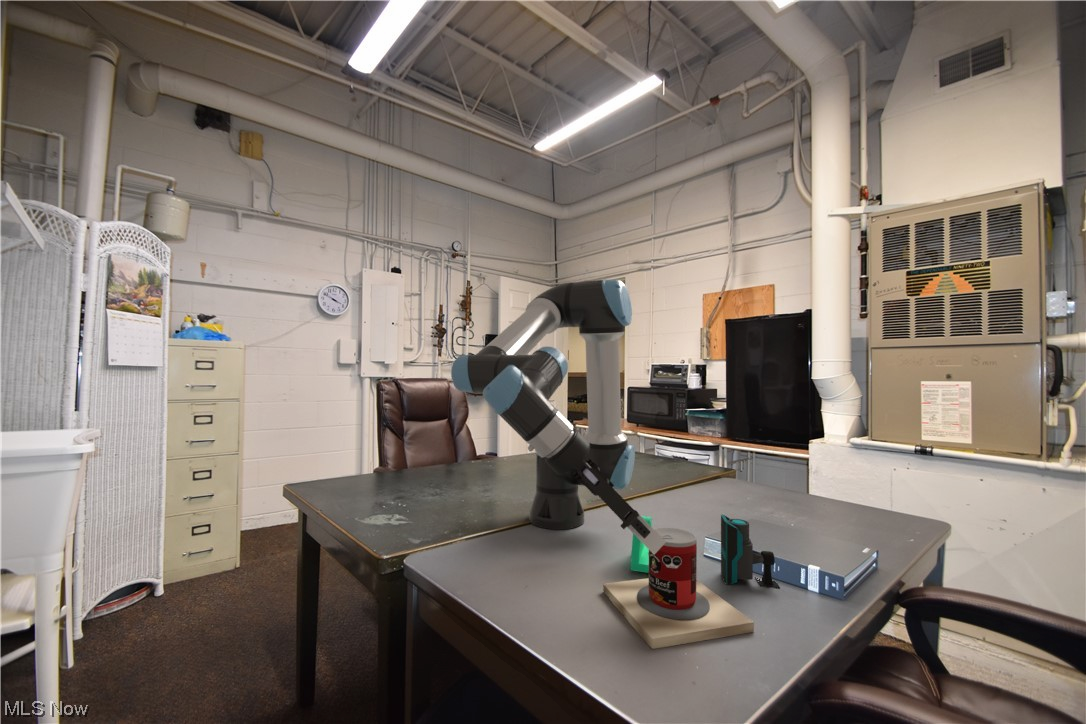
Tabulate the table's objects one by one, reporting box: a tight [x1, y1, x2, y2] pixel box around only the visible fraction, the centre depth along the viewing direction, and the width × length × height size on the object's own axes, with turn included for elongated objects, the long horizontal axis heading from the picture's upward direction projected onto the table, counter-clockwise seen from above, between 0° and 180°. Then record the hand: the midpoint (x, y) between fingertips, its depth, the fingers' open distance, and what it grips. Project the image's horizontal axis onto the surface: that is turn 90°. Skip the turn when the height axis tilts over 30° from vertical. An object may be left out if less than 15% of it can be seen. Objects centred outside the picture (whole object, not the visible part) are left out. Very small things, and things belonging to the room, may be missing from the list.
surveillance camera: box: [720, 514, 781, 589], centre depth 90 cm, size 6×12×10 cm
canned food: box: [648, 527, 698, 610], centre depth 78 cm, size 8×8×11 cm
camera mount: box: [630, 515, 653, 574], centre depth 96 cm, size 12×8×10 cm, turn 161°
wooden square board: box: [602, 577, 755, 650], centre depth 78 cm, size 18×18×2 cm
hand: (644, 532), depth 77 cm, fingers open, 13 cm apart
